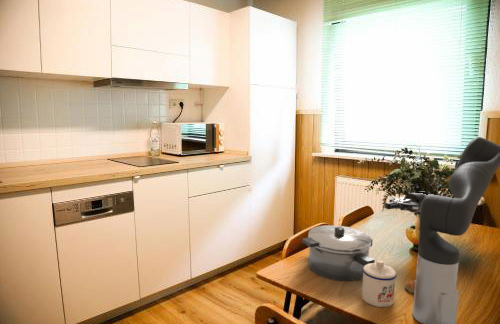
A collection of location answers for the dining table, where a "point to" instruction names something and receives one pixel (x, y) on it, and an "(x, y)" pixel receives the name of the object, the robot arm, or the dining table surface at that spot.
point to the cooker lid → (338, 238)
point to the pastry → (410, 286)
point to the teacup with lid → (378, 284)
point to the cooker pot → (338, 263)
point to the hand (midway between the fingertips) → (386, 206)
